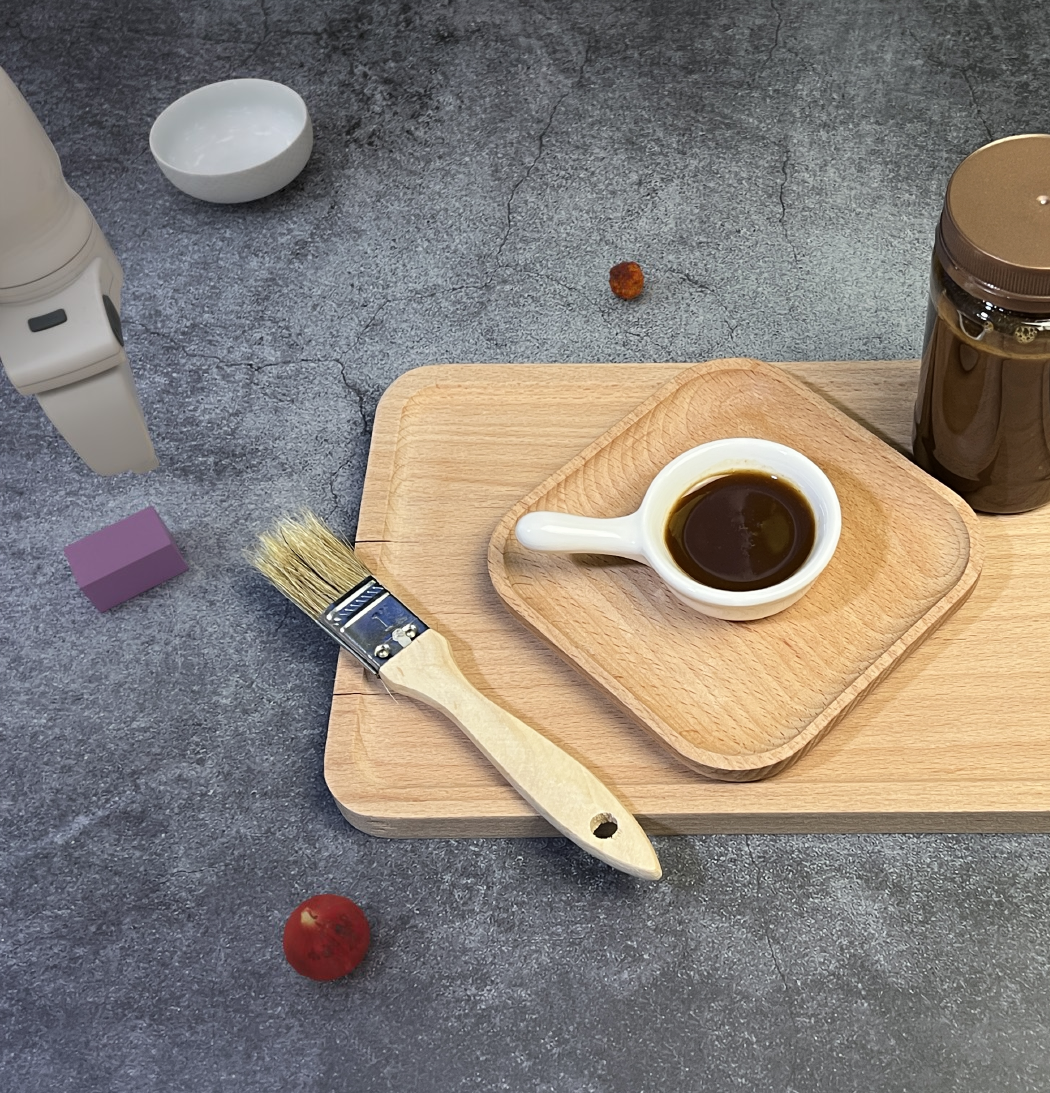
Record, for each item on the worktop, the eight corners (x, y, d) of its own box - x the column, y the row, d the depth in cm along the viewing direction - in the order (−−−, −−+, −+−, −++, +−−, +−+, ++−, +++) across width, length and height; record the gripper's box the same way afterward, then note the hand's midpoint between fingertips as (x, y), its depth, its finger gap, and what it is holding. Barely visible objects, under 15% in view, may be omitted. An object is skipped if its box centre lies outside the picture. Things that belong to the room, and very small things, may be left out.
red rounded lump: (395, 927, 95) (365, 889, 88) (359, 1004, 92) (326, 970, 85) (324, 904, 96) (290, 865, 89) (287, 980, 93) (248, 944, 86)
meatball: (640, 279, 132) (636, 249, 129) (650, 302, 130) (646, 273, 127) (606, 288, 132) (601, 258, 129) (616, 311, 130) (611, 282, 127)
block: (83, 573, 114) (62, 548, 111) (170, 531, 116) (152, 504, 113) (100, 613, 112) (79, 588, 108) (189, 569, 114) (171, 543, 111)
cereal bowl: (356, 153, 146) (338, 99, 140) (262, 245, 138) (238, 193, 132) (240, 113, 151) (217, 60, 145) (141, 200, 143) (114, 147, 137)
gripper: (-31, 192, 86) (65, 338, 97) (12, 399, 75) (114, 537, 86) (65, 162, 87) (149, 310, 98) (121, 362, 76) (208, 502, 88)
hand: (133, 418), depth 92 cm, fingers open, 8 cm apart
